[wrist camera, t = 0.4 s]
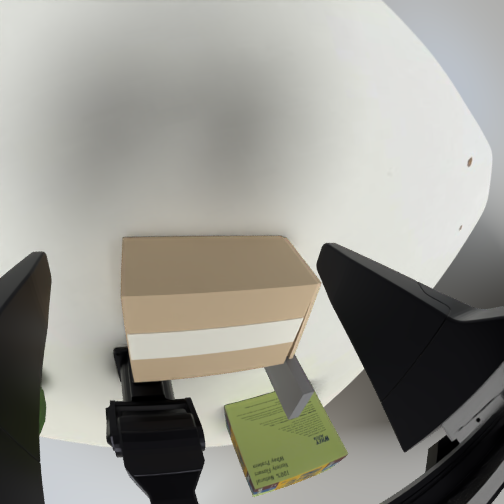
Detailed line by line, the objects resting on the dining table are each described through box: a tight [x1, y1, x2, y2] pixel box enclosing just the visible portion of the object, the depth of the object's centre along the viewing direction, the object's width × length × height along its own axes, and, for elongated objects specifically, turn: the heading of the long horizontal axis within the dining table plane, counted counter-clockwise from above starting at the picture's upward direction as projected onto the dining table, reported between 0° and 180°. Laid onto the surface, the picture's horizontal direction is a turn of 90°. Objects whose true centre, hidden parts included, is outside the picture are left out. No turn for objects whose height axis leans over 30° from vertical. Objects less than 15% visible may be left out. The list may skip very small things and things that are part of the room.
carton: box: [121, 236, 318, 382], centre depth 25 cm, size 10×14×7 cm
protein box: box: [224, 381, 348, 497], centre depth 43 cm, size 10×15×16 cm
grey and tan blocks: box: [264, 238, 321, 420], centre depth 28 cm, size 15×1×11 cm, turn 171°
